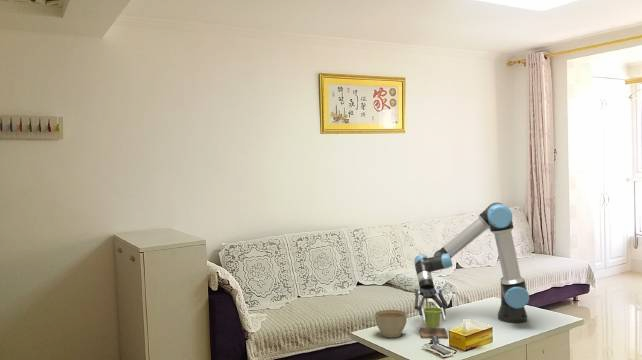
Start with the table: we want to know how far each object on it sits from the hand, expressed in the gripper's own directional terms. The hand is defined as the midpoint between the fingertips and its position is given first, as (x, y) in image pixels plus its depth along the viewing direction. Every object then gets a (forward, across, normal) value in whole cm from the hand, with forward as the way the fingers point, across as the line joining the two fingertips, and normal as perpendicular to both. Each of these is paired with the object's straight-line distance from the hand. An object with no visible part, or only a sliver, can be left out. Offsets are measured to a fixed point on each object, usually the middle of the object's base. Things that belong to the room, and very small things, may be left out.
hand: (434, 320), depth 267 cm
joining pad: (+3, 0, -8) cm, 8 cm away
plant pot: (+1, 0, -5) cm, 5 cm away
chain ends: (+5, 0, -6) cm, 8 cm away
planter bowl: (+2, +21, -9) cm, 23 cm away
